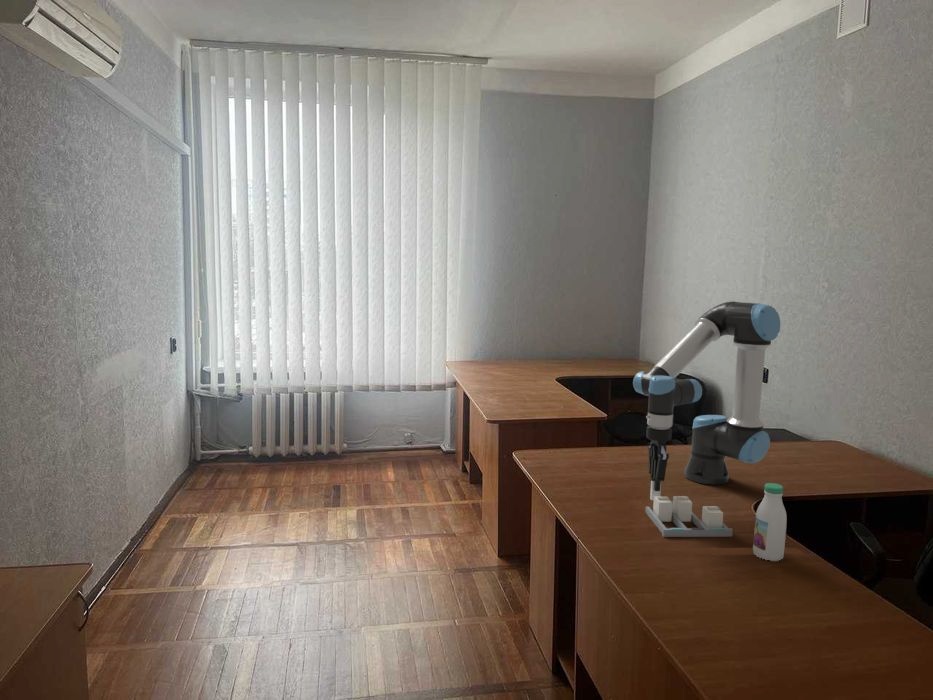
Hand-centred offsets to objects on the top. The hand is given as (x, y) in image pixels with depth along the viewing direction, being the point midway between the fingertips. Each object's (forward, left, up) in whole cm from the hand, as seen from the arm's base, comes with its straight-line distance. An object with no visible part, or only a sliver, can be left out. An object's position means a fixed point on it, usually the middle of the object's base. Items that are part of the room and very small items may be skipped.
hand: (655, 499), depth 209 cm
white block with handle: (0, +7, -3) cm, 8 cm away
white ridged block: (-6, +7, -3) cm, 10 cm away
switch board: (-6, +11, -5) cm, 13 cm away
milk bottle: (-22, +29, -5) cm, 37 cm away
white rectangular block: (-12, +15, -3) cm, 19 cm away
